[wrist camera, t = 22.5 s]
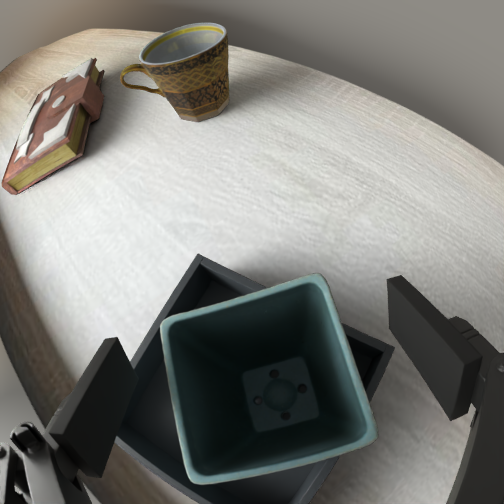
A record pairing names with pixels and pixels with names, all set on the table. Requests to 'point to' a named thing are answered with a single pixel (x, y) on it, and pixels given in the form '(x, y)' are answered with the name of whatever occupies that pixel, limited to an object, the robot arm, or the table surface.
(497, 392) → the robot arm
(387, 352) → the tote
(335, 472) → the table surface
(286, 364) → the flower pot
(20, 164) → the book
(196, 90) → the ceramic cup
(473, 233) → the table surface
